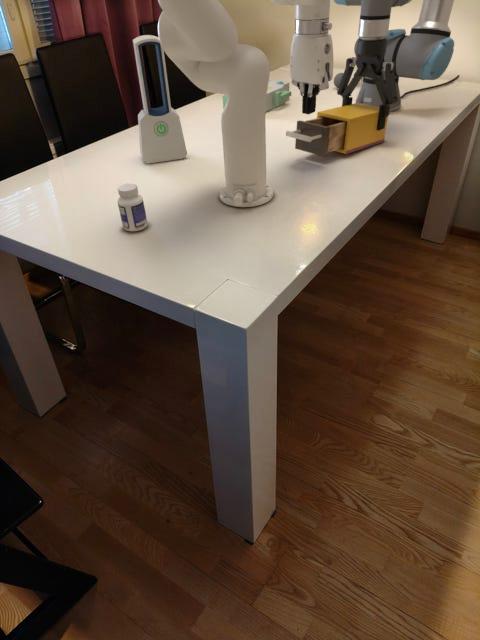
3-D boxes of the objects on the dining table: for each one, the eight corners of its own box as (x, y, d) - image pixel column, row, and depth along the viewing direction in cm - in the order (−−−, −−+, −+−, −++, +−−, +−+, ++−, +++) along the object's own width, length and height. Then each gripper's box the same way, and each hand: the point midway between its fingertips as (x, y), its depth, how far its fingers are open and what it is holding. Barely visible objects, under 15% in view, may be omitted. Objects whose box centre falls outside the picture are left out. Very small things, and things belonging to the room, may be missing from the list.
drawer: (310, 160, 122) (312, 131, 118) (281, 152, 128) (283, 124, 124) (362, 144, 135) (366, 117, 131) (334, 137, 140) (337, 111, 136)
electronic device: (143, 164, 135) (122, 41, 116) (140, 155, 141) (120, 37, 122) (187, 158, 137) (173, 36, 119) (183, 149, 143) (169, 32, 124)
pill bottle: (149, 220, 107) (142, 181, 102) (146, 231, 103) (138, 191, 98) (125, 221, 107) (116, 182, 102) (121, 232, 103) (112, 193, 98)
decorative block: (254, 76, 186) (299, 81, 176) (254, 94, 190) (299, 100, 180) (212, 92, 170) (260, 98, 160) (214, 111, 174) (260, 118, 164)
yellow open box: (345, 154, 130) (350, 118, 125) (314, 145, 137) (317, 111, 132) (383, 141, 141) (389, 108, 136) (352, 134, 147) (356, 102, 142)
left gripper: (349, 27, 108) (342, 114, 119) (297, 23, 116) (296, 104, 128) (327, 32, 104) (322, 121, 115) (276, 27, 113) (276, 111, 124)
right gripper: (421, 39, 121) (406, 129, 135) (344, 32, 135) (338, 115, 148) (404, 43, 117) (391, 136, 131) (327, 36, 131) (322, 121, 144)
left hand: (308, 112), depth 121 cm, fingers closed
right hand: (363, 125), depth 140 cm, fingers closed on yellow open box, 11 cm apart
